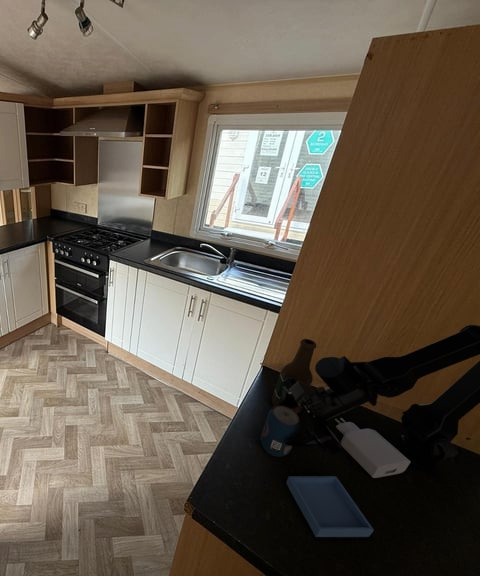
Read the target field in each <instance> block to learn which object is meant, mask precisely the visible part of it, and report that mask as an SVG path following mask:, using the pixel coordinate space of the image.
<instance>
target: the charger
mask: <svg viewBox="0 0 480 576" xmlns="http://www.w3.org/2000/svg"><path fill="white" fill-rule="evenodd" d="M339 419H340V421H339V420H338V418H334V421H336V423H337V425H335V428H336V429H337V430H338V431H339V432H340V433H341V435H343V436H342V438H341V440H340V444H341V445H342V446H343V448H342V449H344V451H346V452H347V453H348V454H349V455H350V456H351V457H352V458H353V459H354V460H355V461H356V462H357V464H358V465H360V466H361V468H363V469H364V471H366V472H367V474H369V475H370V477H371V478H373V479H377V478H378V479H379V478H383V477H388V476H394V475H399V474H402V473H404V472H405V471H406V470H407V468H408V467H409V466H410V465H409V464H410V461H409V460H408V459H407V458H406V457H405V456H404V455H403V454H401V453H400V452H399V451H398V450H397V449H396V446H394V445H393V444H391V442H389V441H388V440H387V439H385V438H384V436H382V435H381V434H380V433H379V432H378V431H377V430H375V429H372V428H361V429H360V428H359V427H358V426H357V425H356V424H355V423H354V422H353V421H346V420H344V418H342V417H340V418H339ZM341 421H342V422H341Z"/></svg>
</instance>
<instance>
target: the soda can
mask: <svg viewBox="0 0 480 576" xmlns="http://www.w3.org/2000/svg"><path fill="white" fill-rule="evenodd" d="M269 411H270V412H269ZM269 411H268V415H267V417H266V420H265V423H264V425H263V429H262V431H261V435H260V438H259V439H260V443H261V446H262V448H263V449H264V450H265V452H267V453H268V454H269V455H271V456H273V457H277V458H280V457H286V456H287V455H289V454H290V452H291V450H292V448H293V446H287V445H286V444H285V441H287V440H288V439H290V438H293V437H295V436H297V435H298V433H299V430H300V428H301V422H300V416H299V413H296V412H295V411H293V410H292V409H290V408H288V407H286V406H275V407H274V408H273V409H272V410H270V409H269Z"/></svg>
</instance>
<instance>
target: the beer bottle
mask: <svg viewBox="0 0 480 576" xmlns="http://www.w3.org/2000/svg"><path fill="white" fill-rule="evenodd" d="M299 343H300V345H299V348H298V349H297V351H296V354H295V356H294V358H293V359H292V361H291V362H289V363H286V364H285V365H284V366H282V368H281V371H280V373H279V376H278V378H277V382H276V385H275V388H274V390H273V392H272V393H273V394H272V398H271V402H272V407H273V406H274V405H275V404H276V403H277V401H278V400H279V399H280V397H281V396H282V392H283V388H282V386H284V387H285V385H284V384H283V381H285V380H286V379H294V380H295V381H296V382H298V381H301V382H303V383H305V384H307V385H309V386H311V387H312V383H313V380H314V379H313V374H312V371H311V362H312V360H313V355H314V351H315V349H317V343H316V342H315V341H314V340H313V339H309V338H303V339H301V340H300V342H299ZM297 403H298V402H297ZM298 404H299V403H298ZM302 409H303V408H302V406H301V404H299V406H298V407H295V408H292V410H293V411H295V412H296V413H297V414H299V413H301V410H302Z"/></svg>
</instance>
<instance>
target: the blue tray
mask: <svg viewBox="0 0 480 576" xmlns="http://www.w3.org/2000/svg"><path fill="white" fill-rule="evenodd" d="M285 484H286V486H287V488H288V489H289V491H290V493H291V495H292V497H293V498H294V500H295V503H296V504H297V505H298V508H299V509H300V511H301V513H302V515H303V517H304V519H305V520H306V522H307V524H308V526H309V528H310V529H311V531H312V533H313V535H314V537H315V538H369V537H370V536H371V535H372V534H373V532H374V531H375V530H374V528H373V526H372V525H371V523H370V522H369V520H368V519H367V518H366V516H365V515H364V513H363V512H362V511H361V509H360V508H359V506H358V505H357V504H356V502H355V501H354V500H353V498H352V497H351V496H350V494H349V492H348V491H347V489H345V487H344V486H343V484H342V483H341V481H340V480H339V478H338V477H337V476H336V475H304V476H303V475H293V476H291V475H289V476H288V477H287V480H286V482H285Z"/></svg>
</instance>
